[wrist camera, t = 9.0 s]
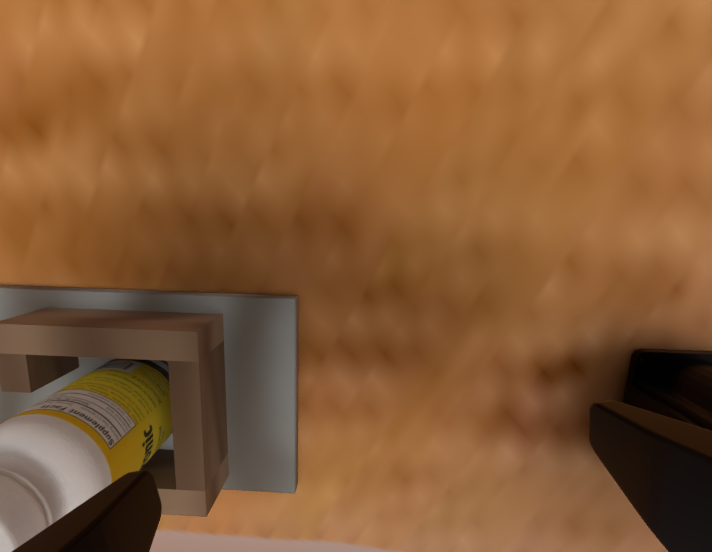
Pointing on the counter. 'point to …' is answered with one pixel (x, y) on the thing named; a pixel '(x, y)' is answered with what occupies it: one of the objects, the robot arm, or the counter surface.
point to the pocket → (172, 376)
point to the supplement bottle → (79, 443)
